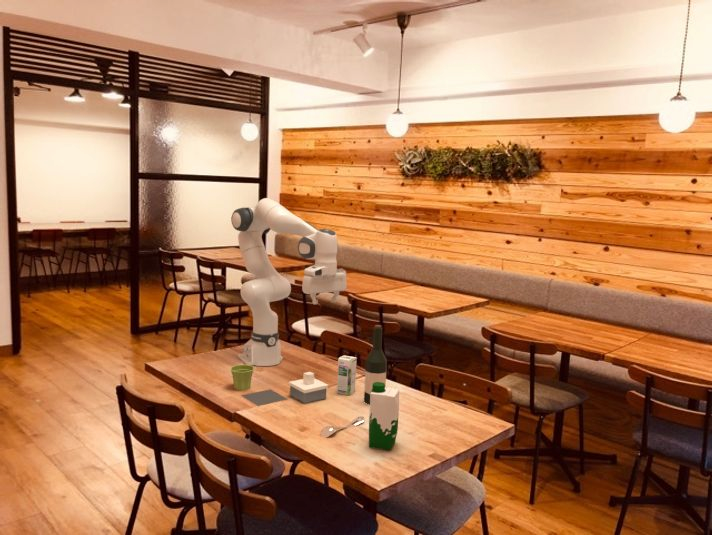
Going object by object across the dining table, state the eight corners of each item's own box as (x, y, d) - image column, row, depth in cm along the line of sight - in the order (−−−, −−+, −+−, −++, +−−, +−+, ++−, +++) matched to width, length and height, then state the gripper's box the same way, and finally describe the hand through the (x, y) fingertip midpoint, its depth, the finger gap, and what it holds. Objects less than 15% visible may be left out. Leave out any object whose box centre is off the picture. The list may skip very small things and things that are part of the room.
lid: (288, 384, 232) (288, 371, 231) (312, 380, 239) (312, 367, 238) (304, 393, 223) (304, 379, 223) (328, 388, 230) (328, 374, 230)
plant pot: (246, 394, 234) (247, 373, 232) (225, 391, 237) (225, 369, 235) (258, 387, 242) (258, 366, 241) (237, 383, 245) (237, 363, 244)
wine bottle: (370, 396, 238) (373, 322, 234) (388, 401, 233) (392, 325, 229) (359, 402, 231) (363, 325, 226) (378, 407, 226) (382, 329, 222)
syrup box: (336, 393, 239) (337, 358, 237) (342, 389, 245) (344, 354, 243) (349, 396, 237) (350, 360, 235) (355, 391, 242) (357, 356, 240)
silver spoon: (358, 409, 214) (368, 413, 210) (358, 418, 214) (368, 422, 211) (317, 427, 199) (328, 432, 196) (318, 438, 200) (328, 442, 196)
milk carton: (372, 437, 199) (375, 379, 196) (398, 441, 197) (402, 382, 194) (365, 448, 191) (368, 387, 188) (393, 452, 188) (396, 391, 186)
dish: (289, 397, 233) (290, 385, 232) (311, 392, 239) (311, 380, 238) (304, 405, 225) (304, 392, 224) (326, 400, 231) (326, 387, 230)
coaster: (240, 396, 231) (240, 395, 231) (270, 390, 239) (270, 389, 239) (257, 407, 221) (257, 405, 221) (287, 400, 229) (287, 399, 229)
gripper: (341, 267, 253) (340, 299, 255) (300, 269, 240) (299, 303, 242) (350, 269, 248) (349, 302, 250) (309, 272, 235) (308, 306, 237)
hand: (324, 303), depth 246 cm, fingers open, 8 cm apart
